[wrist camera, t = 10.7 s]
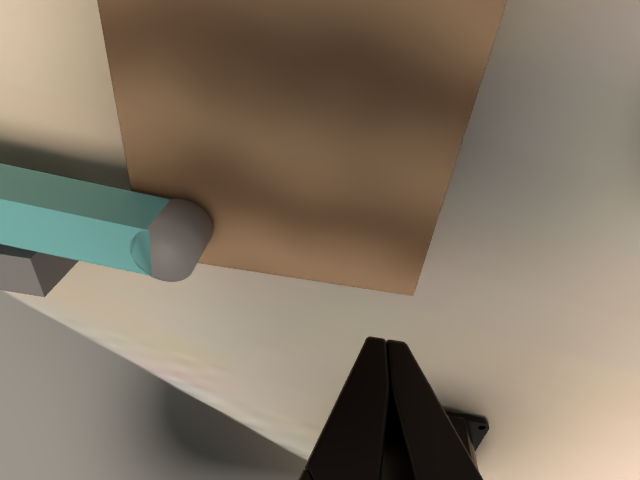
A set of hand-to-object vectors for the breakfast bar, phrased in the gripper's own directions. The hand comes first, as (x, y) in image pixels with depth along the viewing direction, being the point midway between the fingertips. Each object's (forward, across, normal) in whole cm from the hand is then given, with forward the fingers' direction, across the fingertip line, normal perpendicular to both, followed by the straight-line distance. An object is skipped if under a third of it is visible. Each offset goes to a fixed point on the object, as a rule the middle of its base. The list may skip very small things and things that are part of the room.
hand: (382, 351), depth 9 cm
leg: (+10, +15, +4) cm, 18 cm away
